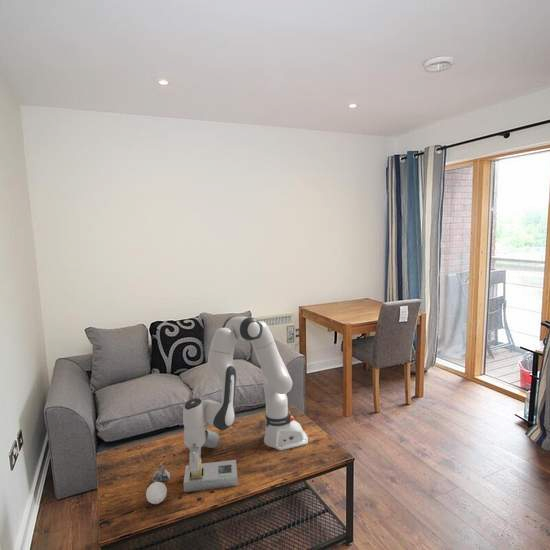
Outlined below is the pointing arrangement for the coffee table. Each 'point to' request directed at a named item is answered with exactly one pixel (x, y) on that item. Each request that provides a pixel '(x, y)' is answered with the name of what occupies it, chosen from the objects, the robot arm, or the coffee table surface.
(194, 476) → the plug
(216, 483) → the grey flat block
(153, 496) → the geometric ball
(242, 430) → the coffee table surface
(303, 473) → the coffee table surface
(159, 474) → the house of cards
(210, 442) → the ceramic mug
